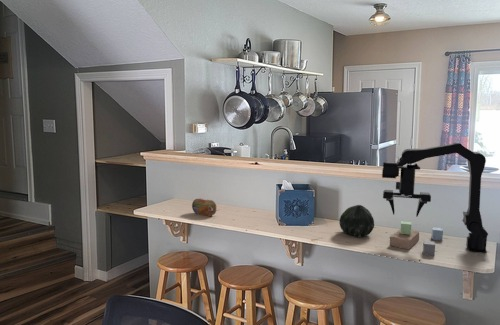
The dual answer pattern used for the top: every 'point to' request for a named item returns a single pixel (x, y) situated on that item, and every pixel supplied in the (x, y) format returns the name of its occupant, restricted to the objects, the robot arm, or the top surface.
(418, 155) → the robot arm
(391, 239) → the brick
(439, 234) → the bluegrey block
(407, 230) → the green block
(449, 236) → the top surface
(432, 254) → the charcoal block
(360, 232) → the squash
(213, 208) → the tin
